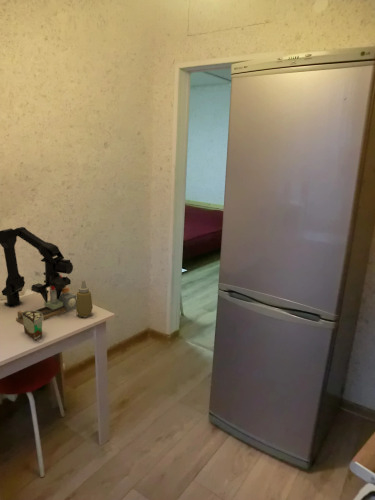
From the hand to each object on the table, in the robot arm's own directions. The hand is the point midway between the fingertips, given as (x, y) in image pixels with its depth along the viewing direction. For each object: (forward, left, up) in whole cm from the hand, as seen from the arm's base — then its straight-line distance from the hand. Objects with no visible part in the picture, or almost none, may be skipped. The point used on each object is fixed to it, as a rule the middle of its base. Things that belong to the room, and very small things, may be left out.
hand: (52, 300), depth 173 cm
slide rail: (0, -6, -6) cm, 8 cm away
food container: (+14, -19, -6) cm, 24 cm away
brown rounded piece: (0, +8, 0) cm, 8 cm away
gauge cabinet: (0, +8, -6) cm, 10 cm away
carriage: (0, +1, -3) cm, 3 cm away
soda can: (-17, +15, -6) cm, 24 cm away
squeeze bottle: (+15, +7, -6) cm, 18 cm away
